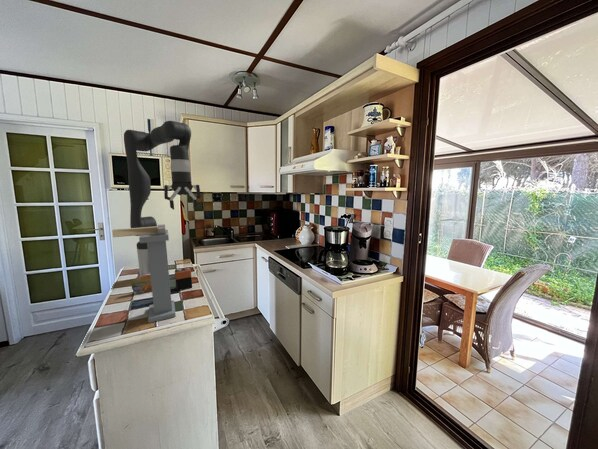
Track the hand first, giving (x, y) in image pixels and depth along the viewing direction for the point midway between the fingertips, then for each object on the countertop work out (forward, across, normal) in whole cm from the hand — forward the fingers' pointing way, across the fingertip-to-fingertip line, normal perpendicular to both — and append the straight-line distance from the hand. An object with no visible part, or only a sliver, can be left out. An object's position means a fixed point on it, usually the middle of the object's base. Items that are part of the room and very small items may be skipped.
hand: (184, 208), depth 110 cm
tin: (+40, +16, -13) cm, 45 cm away
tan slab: (+7, +16, +13) cm, 22 cm away
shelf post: (+39, +12, +13) cm, 43 cm away
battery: (+40, +2, -9) cm, 41 cm away
